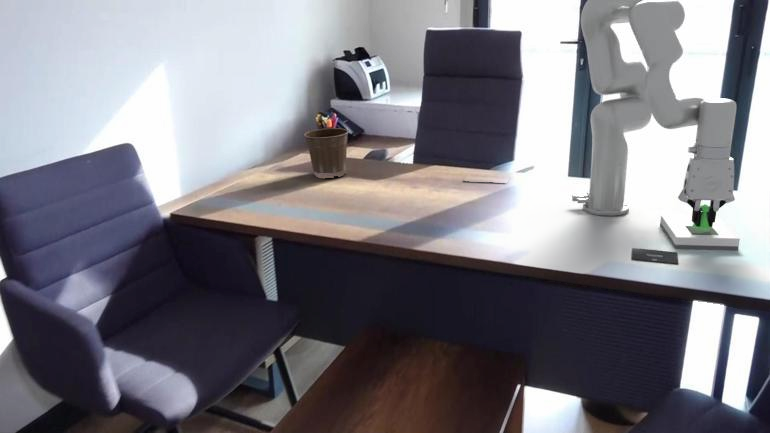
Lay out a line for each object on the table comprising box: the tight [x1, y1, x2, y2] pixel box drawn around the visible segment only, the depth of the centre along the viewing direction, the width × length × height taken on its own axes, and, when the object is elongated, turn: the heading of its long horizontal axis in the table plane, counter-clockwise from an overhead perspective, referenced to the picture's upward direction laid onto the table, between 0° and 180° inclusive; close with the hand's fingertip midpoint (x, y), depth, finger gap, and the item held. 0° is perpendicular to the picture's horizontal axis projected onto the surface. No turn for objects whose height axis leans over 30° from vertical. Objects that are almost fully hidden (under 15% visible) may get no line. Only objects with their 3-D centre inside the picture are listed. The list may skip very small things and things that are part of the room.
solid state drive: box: [631, 247, 679, 266], centre depth 144 cm, size 7×10×1 cm
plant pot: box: [303, 127, 349, 173], centre depth 224 cm, size 16×16×16 cm
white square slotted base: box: [659, 214, 741, 251], centre depth 154 cm, size 14×16×3 cm
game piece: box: [693, 203, 712, 230], centre depth 149 cm, size 4×4×6 cm
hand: (702, 224), depth 150 cm, fingers closed on game piece, 2 cm apart
